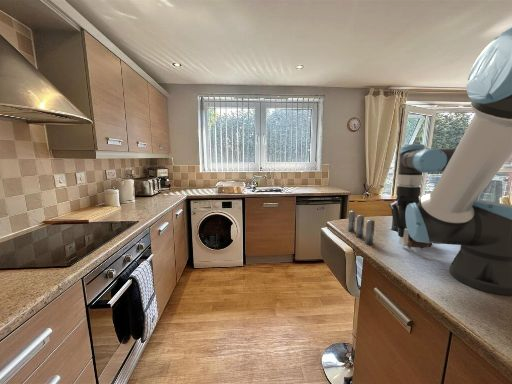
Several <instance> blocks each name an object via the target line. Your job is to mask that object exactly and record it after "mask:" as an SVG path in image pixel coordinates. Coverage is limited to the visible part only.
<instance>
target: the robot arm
mask: <svg viewBox="0 0 512 384" xmlns="http://www.w3.org/2000/svg"><path fill="white" fill-rule="evenodd" d="M467 81H468V83H467V84H466V93H467V97H468V99H470V100H471V102H470V108H471V109H472V111H473V112H474V115H473V117H472V119H471V120H470V123H469V124H468V126H467V128H466V129H465V131H464V134H462V137H461V139H460V141H459V143H458V145H457V146H456V147H454V148H426V146H425V144H422V143H416V144H415V143H414V144H413V143H412V144H402V145H401V147H400V151H399V155H398V156H399V161H398V172H397V174H398V175H397V186H396V198H395V201H394V202H392V203H388V205H389V206H388V207H389V208H390V210H391V215H392V217H393V223H394V226H395V227H397V228H399V231H397V232H398V233H397V234H398V235H397V236H398V239H399V240H398V244H399V245H401V246H403V247H407V245H408V237H410V236H411V238H412V239H413V240H415V241H417V242H424V243H432V244H438V245H452V246H453V245H454V246H460V248H459V250H458V252H457V254H456V255H455V257H454V259H453V260H452V261H451V263H450V265H449V274H450V275H451V276H452V277H453V278H454V279H456V281H458V282H461V283H463V284H465V285H467V286H469V287H472V288H474V289H477V290H480V291H484V292H487V293H492V294H495V295H496V294H497V295H501V296H510V297H512V205H511V204H505V203H501V202H500V203H499V202H497V201H496V202H495V201H489V200H482V199H479V197H480V196H481V195H482V194H483V192H484V191H485V190H486V188H487V187H488V186H489V184H490V183H491V181H493V179H494V178H495V177H496V175H497V174H498V173H499V171H500V169H502V168H503V166H504V165H505V163H506V162H507V161H508V160H509V158H510V156H511V155H512V27H510V28H507V29H506V30H505V31H504V32H502V33H501V34H500V35H498V36H496V37H494V39H493V40H492V41H491V42H489V44H487V46H485V48H484V49H483V50H482V51H481V53H480V54H479V55H478V57H477V58H476V60H475V62H474V63H473V65H472V66H471V69H470V72H469V74H468V76H467ZM423 173H426V174H427V173H429V174H431V173H432V174H433V173H442V174H441V176H440V177H439V179H438V181H437V183H436V184H435V186H434V189H433V190H432V191H429V192H426V193H425V194H424V195H423V196H422V197H421V199H420V196H421V190H422V188H421V186H422V181H423Z"/></svg>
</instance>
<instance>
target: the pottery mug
mask: <svg viewBox="0 0 512 384" xmlns="http://www.w3.org/2000/svg"><path fill="white" fill-rule="evenodd" d="M406 247H407V248H409V249H411V248H415V249H416V248H419V249H423V248H427V247H429V248H431V247H433V243H424V242H417V241H415V240H413V239H412V238H411V236H410V237H408V245H407V246H406Z"/></svg>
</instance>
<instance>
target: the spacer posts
mask: <svg viewBox="0 0 512 384" xmlns="http://www.w3.org/2000/svg"><path fill="white" fill-rule="evenodd" d="M356 215H357V216H356ZM375 223H376V220H374V219H366V225H365V215H364V214H356V210H348V223H347V224H348V226H347V231H348V232H350V233H354V232H355V237H356V238H358V239H362V238H363V239H364V232H365V240H364V241H365V242H364V244H365V245H368V246H373V245H374V239H375V238H374V236H375ZM365 226H366V227H365ZM355 227H356V228H355ZM364 229H365V231H364ZM390 229H391V231H395V232H399V228H397V227H395V226H394V223H393V217H392V218H391V228H390Z"/></svg>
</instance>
